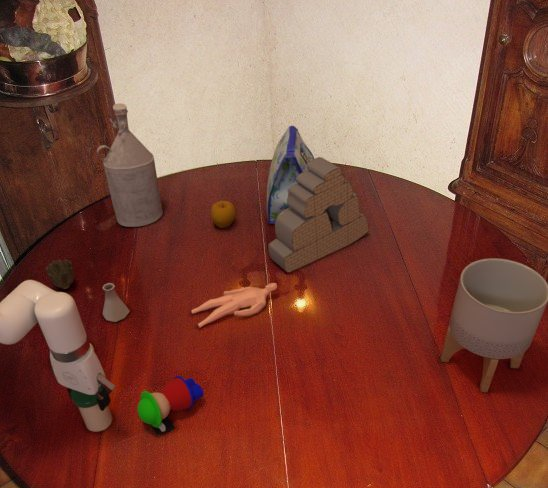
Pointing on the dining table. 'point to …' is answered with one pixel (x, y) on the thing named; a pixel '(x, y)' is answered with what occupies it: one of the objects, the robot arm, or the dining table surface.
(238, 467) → the dining table surface
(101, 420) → the beige cylinder
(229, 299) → the male figurine
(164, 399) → the toy figure
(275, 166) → the lunch bag
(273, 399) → the dining table surface
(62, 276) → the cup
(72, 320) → the robot arm
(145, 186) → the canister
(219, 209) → the apple
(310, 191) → the ruin
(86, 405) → the jar lid
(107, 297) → the flask
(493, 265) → the planter
